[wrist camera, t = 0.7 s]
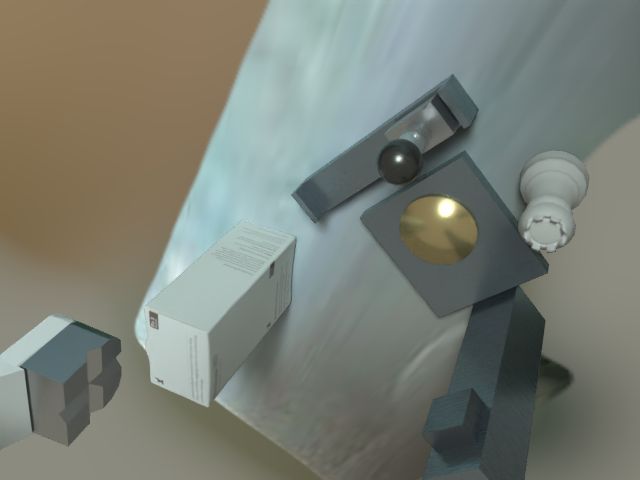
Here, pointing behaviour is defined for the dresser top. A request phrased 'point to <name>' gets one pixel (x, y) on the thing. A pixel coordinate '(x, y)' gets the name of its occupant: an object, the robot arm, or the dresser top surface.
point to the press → (457, 292)
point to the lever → (414, 140)
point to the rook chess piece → (551, 199)
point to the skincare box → (219, 311)
